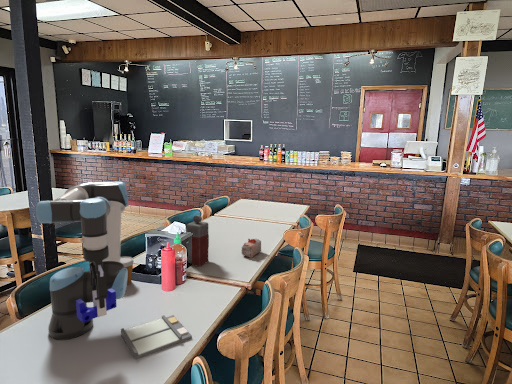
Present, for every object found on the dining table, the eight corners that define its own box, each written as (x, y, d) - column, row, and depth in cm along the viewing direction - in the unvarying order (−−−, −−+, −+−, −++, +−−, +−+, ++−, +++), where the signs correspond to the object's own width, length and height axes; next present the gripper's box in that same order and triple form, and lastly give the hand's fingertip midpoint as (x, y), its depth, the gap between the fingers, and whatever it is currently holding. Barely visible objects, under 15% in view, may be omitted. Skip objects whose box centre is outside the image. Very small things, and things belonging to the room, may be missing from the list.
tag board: (121, 334, 132) (120, 328, 131) (173, 317, 144) (173, 312, 143) (135, 359, 118) (135, 353, 118) (191, 338, 130) (191, 332, 130)
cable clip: (82, 322, 112) (81, 305, 110) (77, 317, 115) (75, 300, 113) (118, 308, 120) (117, 292, 119) (112, 303, 123) (111, 288, 122)
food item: (252, 259, 207) (252, 243, 205) (240, 256, 210) (240, 241, 208) (262, 252, 219) (262, 237, 217) (251, 249, 222) (251, 235, 220)
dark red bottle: (210, 259, 204) (210, 213, 199) (199, 266, 194) (199, 218, 189) (198, 256, 208) (197, 211, 202) (186, 263, 198) (186, 215, 193)
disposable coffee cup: (126, 276, 179) (124, 254, 177) (138, 281, 175) (137, 258, 172) (110, 283, 171) (108, 260, 169) (122, 288, 166) (121, 265, 164)
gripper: (77, 240, 118) (82, 302, 123) (88, 257, 104) (93, 328, 108) (101, 236, 123) (105, 297, 127) (115, 253, 108) (118, 320, 113)
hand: (100, 311), depth 118 cm, fingers closed on cable clip, 5 cm apart
